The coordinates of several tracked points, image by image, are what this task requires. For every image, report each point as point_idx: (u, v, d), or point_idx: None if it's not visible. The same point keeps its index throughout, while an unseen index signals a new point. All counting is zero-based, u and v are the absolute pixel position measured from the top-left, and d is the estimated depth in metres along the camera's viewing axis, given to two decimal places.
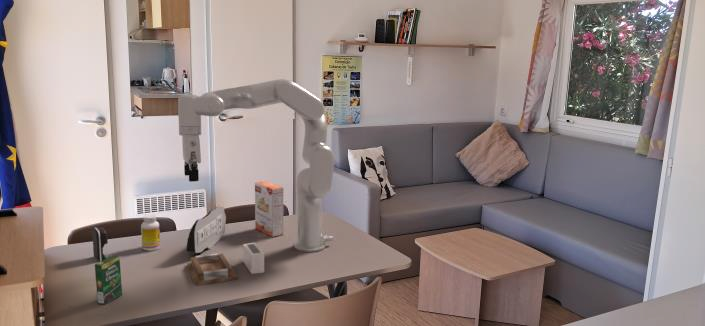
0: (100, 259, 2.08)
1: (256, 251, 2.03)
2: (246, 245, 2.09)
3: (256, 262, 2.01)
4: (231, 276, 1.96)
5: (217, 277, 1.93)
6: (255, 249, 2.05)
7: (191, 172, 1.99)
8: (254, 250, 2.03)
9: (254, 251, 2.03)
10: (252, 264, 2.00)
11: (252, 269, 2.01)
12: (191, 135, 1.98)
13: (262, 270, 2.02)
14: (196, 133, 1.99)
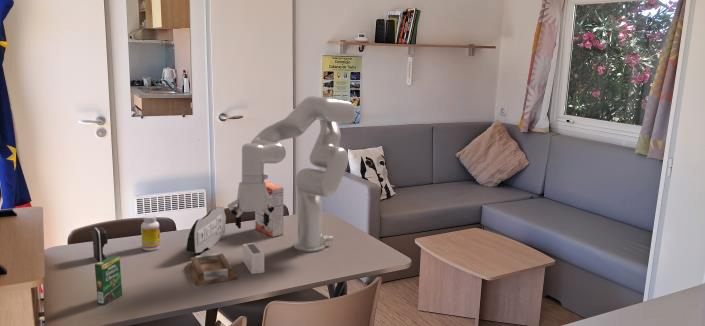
0: (100, 259, 2.08)
1: (256, 251, 2.03)
2: (246, 245, 2.09)
3: (256, 262, 2.01)
4: (231, 276, 1.96)
5: (217, 277, 1.93)
6: (255, 249, 2.05)
7: (268, 216, 2.05)
8: (254, 250, 2.03)
9: (254, 251, 2.03)
10: (252, 264, 2.00)
11: (252, 269, 2.01)
12: (263, 181, 2.02)
13: (262, 270, 2.02)
14: None
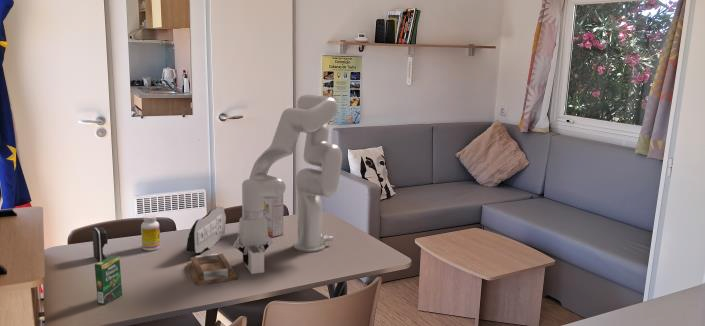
0: (100, 259, 2.08)
1: (256, 251, 2.03)
2: None
3: (256, 262, 2.01)
4: (231, 276, 1.96)
5: (217, 277, 1.93)
6: (255, 249, 2.05)
7: None
8: (254, 250, 2.03)
9: (254, 251, 2.03)
10: (252, 264, 2.00)
11: (252, 269, 2.01)
12: (263, 216, 2.05)
13: (262, 270, 2.02)
14: None
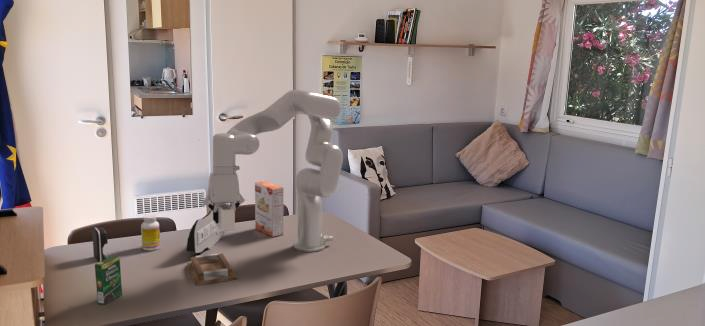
0: (100, 259, 2.08)
1: (226, 208, 1.95)
2: None
3: (226, 219, 1.93)
4: (231, 276, 1.96)
5: (217, 277, 1.93)
6: (226, 206, 1.97)
7: None
8: (224, 207, 1.96)
9: (224, 208, 1.95)
10: (222, 221, 1.93)
11: (222, 226, 1.93)
12: (235, 173, 1.97)
13: (232, 228, 1.95)
14: None
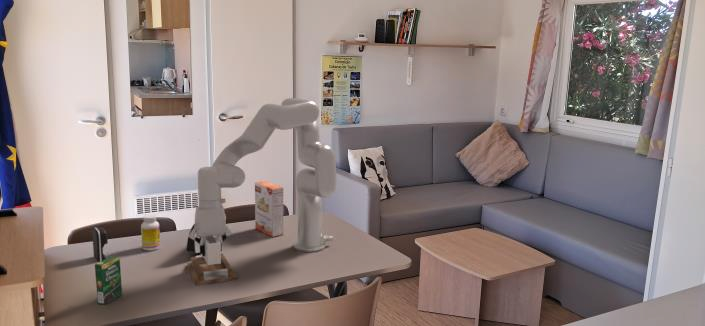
0: (100, 259, 2.08)
1: (213, 241, 1.96)
2: None
3: (212, 252, 1.94)
4: (231, 276, 1.96)
5: (217, 277, 1.93)
6: (212, 239, 1.97)
7: None
8: (210, 241, 1.96)
9: (210, 241, 1.95)
10: (208, 255, 1.93)
11: (208, 260, 1.94)
12: (221, 205, 1.98)
13: (219, 261, 1.95)
14: None
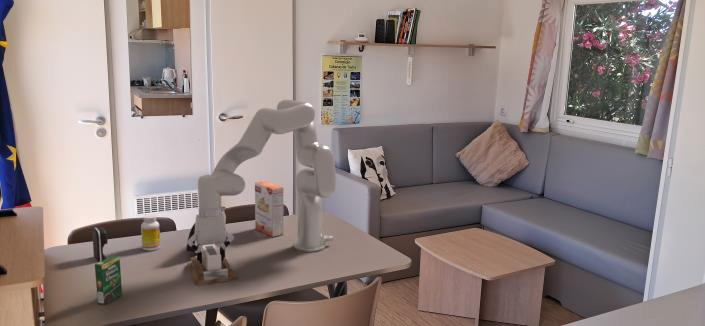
0: (100, 259, 2.08)
1: (213, 253, 1.96)
2: (204, 247, 2.03)
3: (213, 264, 1.95)
4: (231, 276, 1.96)
5: (217, 277, 1.93)
6: (212, 251, 1.98)
7: (223, 251, 2.01)
8: (211, 252, 1.97)
9: (211, 253, 1.96)
10: (208, 266, 1.94)
11: None
12: (221, 213, 1.98)
13: None
14: None
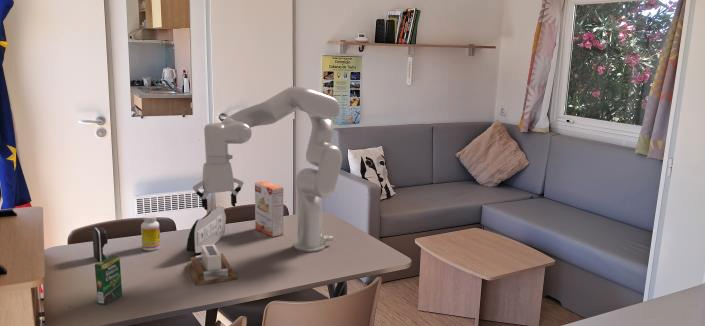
0: (100, 259, 2.08)
1: (213, 253, 1.96)
2: (204, 247, 2.03)
3: (213, 264, 1.95)
4: (231, 276, 1.96)
5: (217, 277, 1.93)
6: (212, 251, 1.98)
7: (235, 197, 2.02)
8: (211, 252, 1.97)
9: (211, 253, 1.96)
10: (208, 266, 1.94)
11: None
12: (228, 162, 1.99)
13: None
14: None
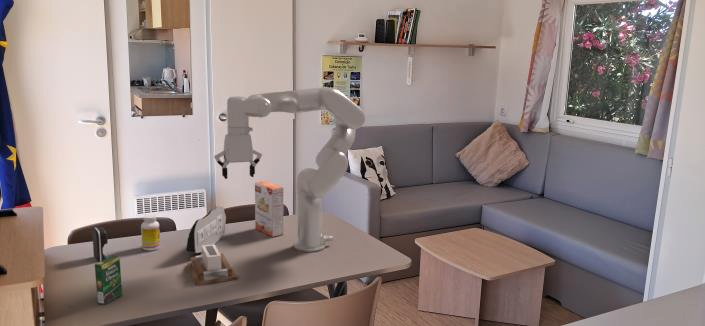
0: (100, 259, 2.08)
1: (213, 253, 1.96)
2: (204, 247, 2.03)
3: (213, 264, 1.95)
4: (231, 276, 1.96)
5: (217, 277, 1.93)
6: (212, 251, 1.98)
7: (253, 168, 2.13)
8: (211, 252, 1.97)
9: (211, 253, 1.96)
10: (208, 266, 1.94)
11: None
12: (248, 134, 2.10)
13: None
14: None
